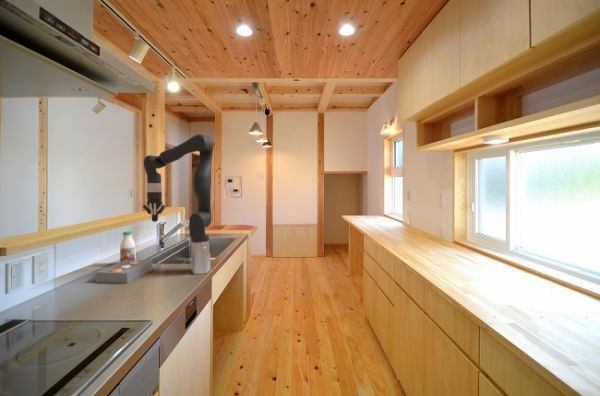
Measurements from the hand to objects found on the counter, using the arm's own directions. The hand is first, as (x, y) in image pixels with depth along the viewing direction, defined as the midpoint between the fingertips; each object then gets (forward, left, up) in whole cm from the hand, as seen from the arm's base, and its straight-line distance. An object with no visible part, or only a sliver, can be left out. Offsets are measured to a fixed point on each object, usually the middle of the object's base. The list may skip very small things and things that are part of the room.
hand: (154, 221), depth 154 cm
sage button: (+8, +7, -26) cm, 28 cm away
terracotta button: (+8, +20, -26) cm, 34 cm away
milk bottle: (+19, -4, -27) cm, 33 cm away
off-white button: (+8, +14, -26) cm, 30 cm away
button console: (+8, +14, -27) cm, 31 cm away
